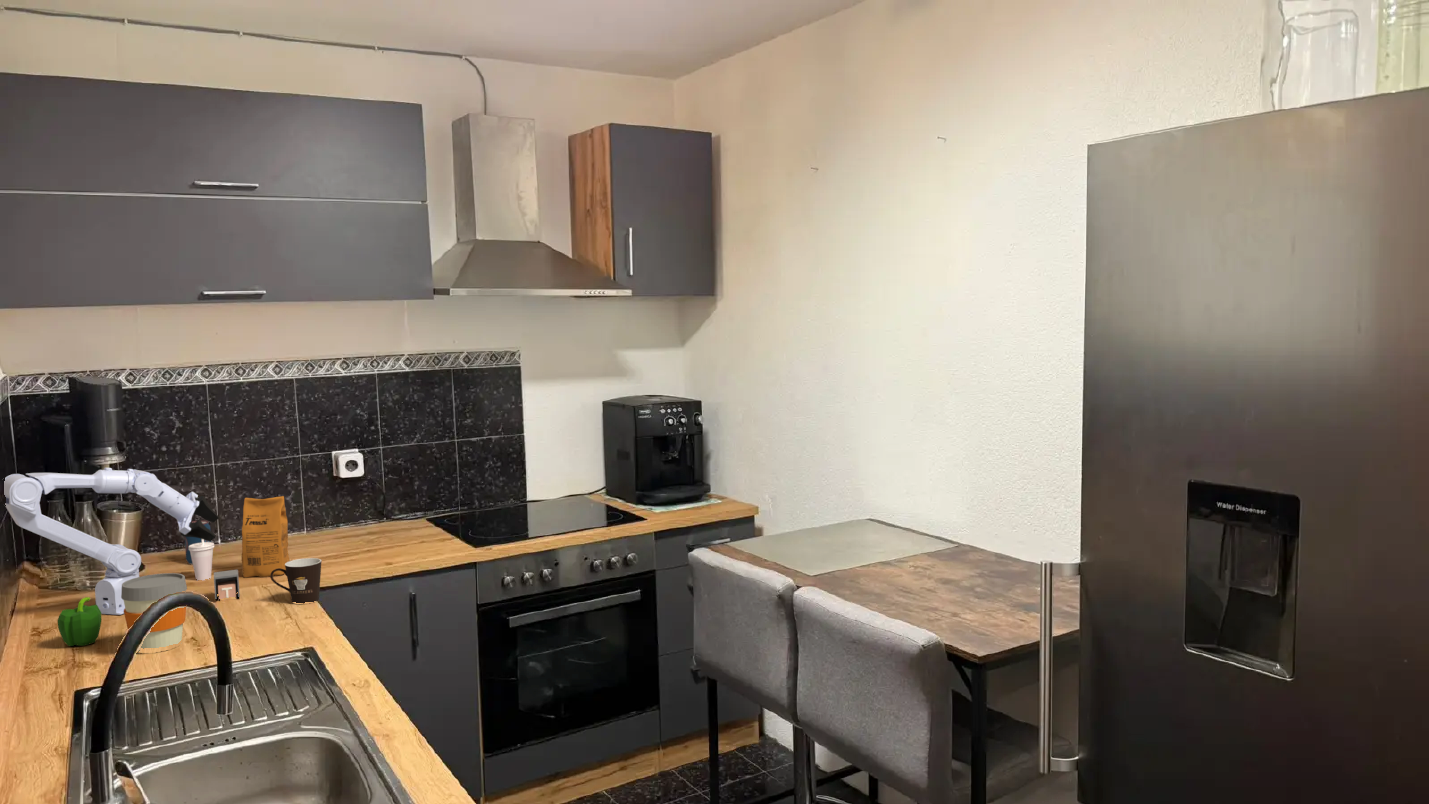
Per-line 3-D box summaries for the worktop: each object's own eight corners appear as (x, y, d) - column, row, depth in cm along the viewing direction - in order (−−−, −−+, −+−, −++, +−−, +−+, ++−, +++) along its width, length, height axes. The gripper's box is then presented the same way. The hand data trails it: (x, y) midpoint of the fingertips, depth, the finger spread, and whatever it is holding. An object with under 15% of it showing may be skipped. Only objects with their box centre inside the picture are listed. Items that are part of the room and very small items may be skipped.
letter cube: (236, 599, 246) (235, 584, 245) (219, 601, 244) (217, 586, 243) (236, 595, 249) (235, 580, 249) (218, 597, 247) (217, 582, 247)
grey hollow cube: (239, 599, 245) (238, 574, 245) (215, 602, 243) (213, 577, 242) (239, 593, 250) (237, 569, 250) (215, 596, 248) (213, 572, 247)
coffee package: (250, 569, 275) (245, 494, 273) (295, 567, 276) (290, 493, 274) (236, 579, 265) (232, 501, 263) (283, 577, 266) (278, 499, 264)
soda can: (189, 560, 286) (186, 521, 285) (214, 558, 289) (212, 519, 287) (184, 566, 280) (181, 525, 279) (210, 563, 282) (207, 524, 281)
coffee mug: (330, 596, 246) (328, 559, 245) (308, 606, 238) (306, 567, 237) (293, 594, 249) (290, 556, 248) (269, 603, 241) (267, 565, 240)
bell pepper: (72, 652, 208) (69, 607, 207) (52, 646, 212) (49, 602, 211) (112, 640, 215) (109, 597, 214) (92, 635, 219) (89, 592, 218)
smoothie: (205, 582, 262) (201, 532, 260) (185, 581, 263) (181, 531, 262) (221, 576, 268) (218, 527, 267) (201, 575, 269) (198, 526, 268)
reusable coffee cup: (111, 655, 205) (106, 588, 204) (153, 636, 217) (148, 572, 216) (164, 657, 203) (159, 589, 202) (203, 638, 216) (199, 573, 214)
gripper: (178, 511, 240) (222, 538, 249) (186, 475, 251) (228, 503, 260) (157, 526, 241) (202, 553, 249) (166, 490, 252) (209, 517, 261)
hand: (214, 529), depth 255 cm, fingers open, 7 cm apart
